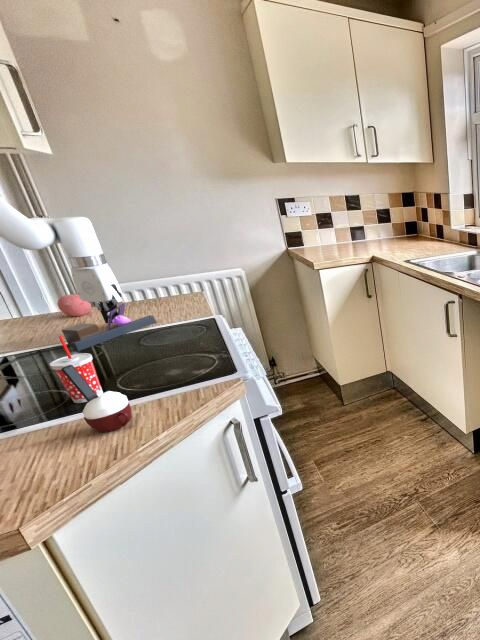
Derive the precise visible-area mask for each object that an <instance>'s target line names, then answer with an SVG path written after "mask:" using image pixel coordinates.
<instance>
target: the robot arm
mask: <svg viewBox="0 0 480 640" xmlns="http://www.w3.org/2000/svg"><path fill="white" fill-rule="evenodd" d="M0 238H1V239H3V240H5V241H7V242H8V243H9V244H12V245H13V246H15V247H18V248H20V249H23V250H27V251H37V250H43V249H45V248H47V247H51V246H53V245H58V244H61V246H62V248H63V250H64V253H65V255H66V257H67V260H68V262H69V265H70V272H71V277H72V281H73V285H74V287H75V290H76V292H77V293H76V294H78V295H79V297H80V299H81V300H83V301H88V303H91V305H94V306H95V307H96V309H97V310H98V311H100V313H101V316H102V318H103V321H104V323H105V324H108V319H109V316H108V315H107V313H108V312H111V311H112V310H114V309H115V308H117V307H118V305H120V304H123V299H121V298H122V297H123V292H122V289H121V286H120V284H119V282H118V280H117V278H116V276H115V274H114V272H113V270H112V269H111V267H110V266H109V265H108V264H109V263H108V262H107V261H108V260H107V259H106V257H105V254H104V251H103V248H102V246H101V244H100V241H99V239H98V236H97V234H96V231H95V228H94V226H93V224H92V221H91V220H90V219H89V218H88V217H86V216H79V215H78V216H64V217H58V218H57V217H53V218H52V217H31V218H28V217H27V216H26V215H25V214H23V213H21V212H20V211H19V210H17V209H16V208H15V207H13V206H12V205H11V204H9V203H8V202H7V201H6V200H5V199H4V198H3V197H2V196H1V195H0ZM115 316H118V310H117V311H116V313H114V314H113V315H112V318H111V324H114V323H113V322H112V320H113V318H114V317H115Z"/></svg>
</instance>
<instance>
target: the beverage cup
mask: <svg viewBox="0 0 480 640" xmlns="http://www.w3.org/2000/svg"><path fill="white" fill-rule="evenodd" d="M63 337H64V336H62V335H59V336H58V339H59V341H60V343H61V345H62V347H63V350H64V352H65V354H66V356H62V357H59V358H55V360H53V361H51V362H50V363H49V364H48V365H49V366H50V368H51V369H52V370H54V372H55V373H56V375H57V377H58V378H59V380H60V382H61V383H62V385H63V387H64V388H65V390H66V392H67V393H68V395H69V397H70V399H71V400H72V402H73V403H75V404H82V403H88V401H87V400H86V399H85V398H84V397H83V395H82V394H81V393H80V392H79V391H78V389H77V388H76V387H75V386H74V385H73V383H72V382H71V381H70V380H69V379H68V377H67V376H66V375H65V374H64V373H63V371H62V370H61V369H62V368H63V367H66V366H68V365H73V366H74V368H75V369H76V370H77V371H78V373H79V374H80V375H81V376H82V377H83V379H84V380H85V381H86V382H87V383H88V385H89V386H90V387H91V388H92V389H93V391H94V392H95V393H96V394H97V396H98V397H100V396H101V395H102V394H103V393H104V391H103V388H102V386H101V385H102V384H101V383H100V379H99V377H98V374H97V371H96V368H95V365H94V362H93V355H92V354H91V353H88V352H87V353H86V352H84V353H75V354H71V353H70V350H69V349H68V345H67V344H66V342H65V340H64V338H63Z"/></svg>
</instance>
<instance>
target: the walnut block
mask: <svg viewBox="0 0 480 640" xmlns="http://www.w3.org/2000/svg"><path fill="white" fill-rule="evenodd" d="M61 332H62V335H63V337H64V339H65V341H66V343H67V346H68V347H72V346H71V344H70V343H72V342H75V341H77V340H80V339H83V338H86V337H89V336H92V335H95V334H98V333H100V329H99V327H98V324H97V323H78V324H75V325H72V326H69V327H66V328H63V329H61Z"/></svg>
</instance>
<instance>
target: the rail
mask: <svg viewBox="0 0 480 640" xmlns="http://www.w3.org/2000/svg"><path fill="white" fill-rule="evenodd" d="M155 323H157V321H156V318H155V316H154V315H147V316H144V317H140V318H137V319H135V320H131V322H129V323H126V324H123V325H121V326H118V327H116V326H115V327H111V329H109V330H108V329H106V330H104V331H101V332H100V333H98V334H95V335H92V336H89V337H86V338H83V339H80V340H77V341H75V342H72V343H70V344H71V346H70V347H71V348H72V350H73V352H79V351H83V350H86V349H88V348H91V347H94V346H96V345H99V344H102V343H105V342H107V341H110V340H112V339H116V338H118V337H121V336H123V335H126V334H129V333H131V332H134V331H137V330H140V329H142V328H146V327H148V326H151V325H153V324H155Z"/></svg>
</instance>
